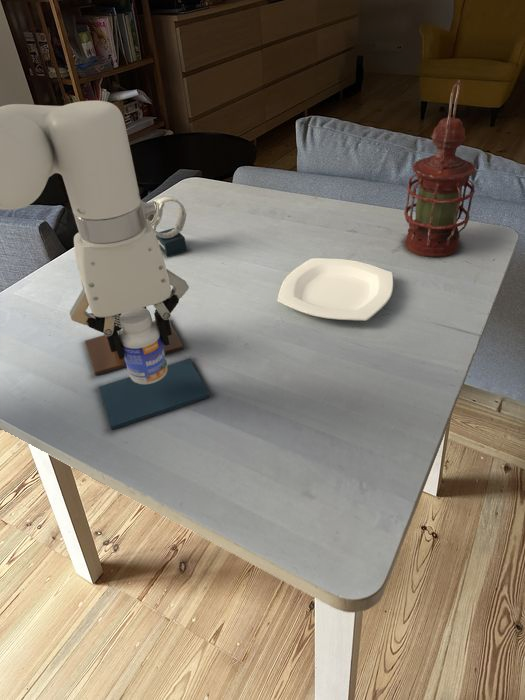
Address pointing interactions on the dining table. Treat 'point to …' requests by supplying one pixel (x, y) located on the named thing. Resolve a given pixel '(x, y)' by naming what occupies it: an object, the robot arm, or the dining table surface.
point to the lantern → (440, 192)
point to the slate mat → (152, 394)
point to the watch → (170, 238)
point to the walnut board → (110, 360)
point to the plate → (337, 289)
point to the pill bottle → (142, 347)
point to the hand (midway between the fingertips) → (142, 345)
